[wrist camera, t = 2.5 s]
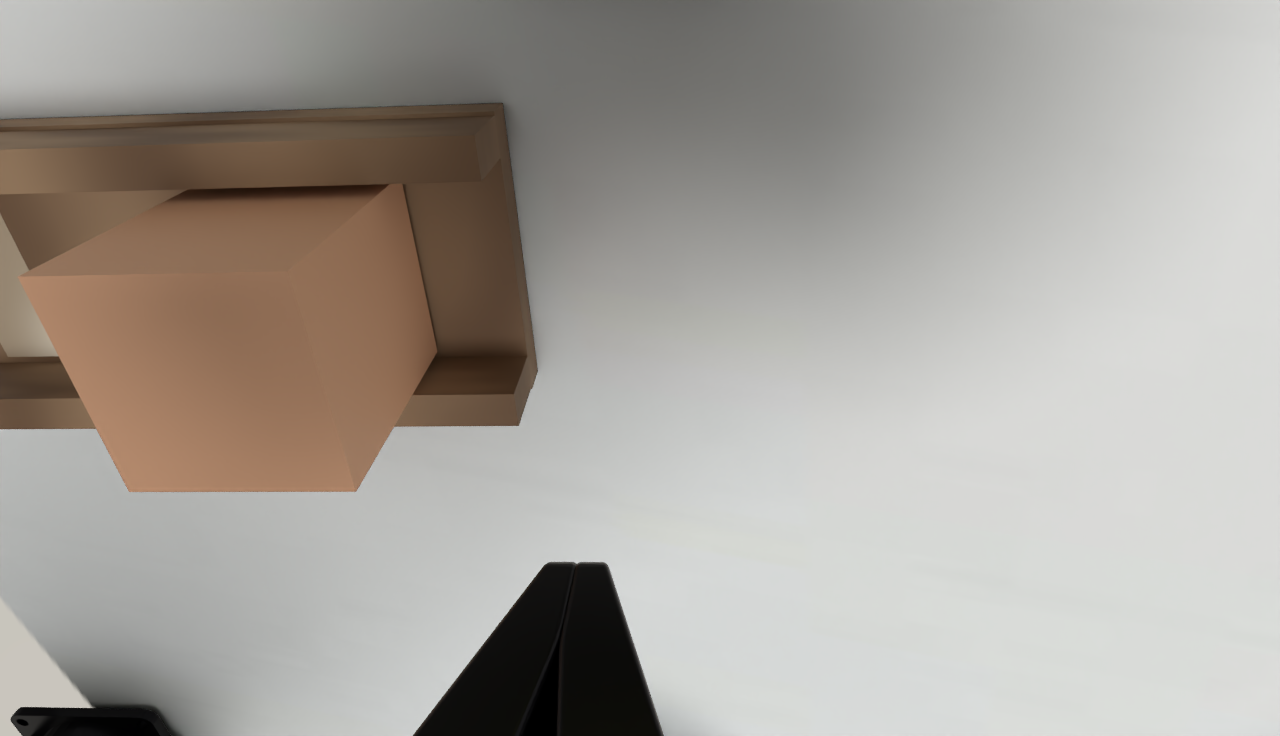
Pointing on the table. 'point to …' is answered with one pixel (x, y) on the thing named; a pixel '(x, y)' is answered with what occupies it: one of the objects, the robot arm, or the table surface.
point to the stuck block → (244, 335)
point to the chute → (281, 157)
